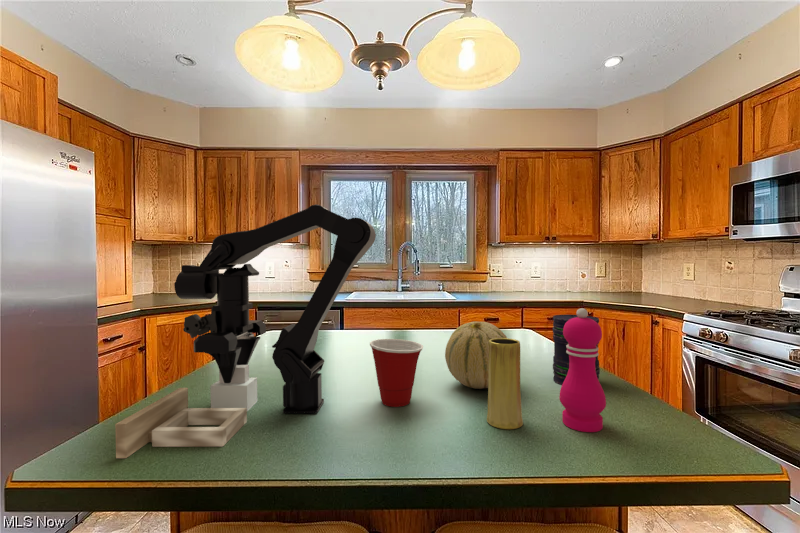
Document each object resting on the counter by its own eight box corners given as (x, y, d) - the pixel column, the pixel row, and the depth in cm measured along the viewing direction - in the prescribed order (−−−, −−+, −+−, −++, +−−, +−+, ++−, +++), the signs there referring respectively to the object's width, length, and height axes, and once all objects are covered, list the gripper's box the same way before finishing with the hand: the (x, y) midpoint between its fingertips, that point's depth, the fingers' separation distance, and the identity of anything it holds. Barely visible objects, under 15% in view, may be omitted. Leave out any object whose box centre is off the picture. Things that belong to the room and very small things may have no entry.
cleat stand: (254, 414, 72) (254, 387, 72) (211, 458, 56) (210, 423, 56) (180, 414, 72) (179, 387, 72) (116, 458, 56) (115, 424, 56)
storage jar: (606, 390, 83) (606, 321, 83) (558, 388, 85) (558, 320, 84) (591, 376, 93) (591, 314, 93) (548, 374, 94) (548, 314, 94)
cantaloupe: (497, 375, 94) (497, 314, 94) (524, 396, 80) (523, 324, 79) (438, 378, 93) (438, 316, 92) (454, 400, 78) (454, 326, 78)
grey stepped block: (257, 401, 78) (256, 362, 78) (247, 411, 73) (246, 369, 73) (223, 402, 78) (222, 363, 78) (210, 411, 73) (210, 370, 73)
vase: (526, 419, 68) (526, 339, 68) (518, 433, 63) (517, 346, 63) (492, 412, 71) (492, 336, 71) (482, 425, 66) (481, 342, 66)
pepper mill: (612, 435, 62) (612, 311, 61) (564, 432, 63) (564, 310, 63) (598, 417, 69) (598, 306, 68) (555, 414, 70) (555, 305, 70)
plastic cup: (427, 411, 72) (426, 348, 72) (369, 413, 72) (368, 349, 72) (421, 391, 83) (420, 336, 83) (371, 393, 83) (370, 337, 82)
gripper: (215, 295, 85) (217, 365, 85) (162, 305, 66) (164, 395, 67) (266, 294, 85) (267, 365, 85) (226, 304, 66) (228, 394, 66)
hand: (234, 378), depth 76 cm, fingers open, 6 cm apart
